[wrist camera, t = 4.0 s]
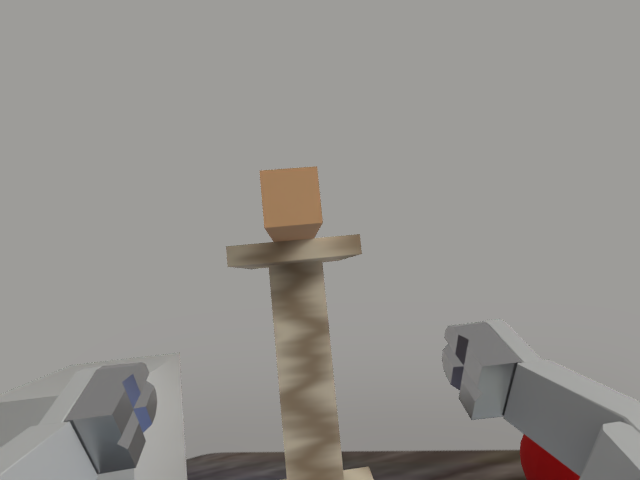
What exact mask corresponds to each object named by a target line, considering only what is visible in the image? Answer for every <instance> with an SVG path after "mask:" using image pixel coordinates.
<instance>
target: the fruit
mask: <svg viewBox="0 0 640 480" xmlns="http://www.w3.org/2000/svg"><path fill="white" fill-rule="evenodd" d="M520 457H521V464H522V468H523V471H524V473H525V476H526V479H527V480H579V478H580V476H579V475H577V474H576V473H575V472H573V471H572V470H571V469H569V468H568V467H567V466H566V465H564V464H563V463H562V462H560V461H559V460H558V459H556V458H555V457H554V456H552V455H551V454H550V453H548V452H547V451H546V450H545V449H543V448H542V447H541V446H539V445H538V444H537V443H535V442H534V441H533V440H531V439H530V438H529V437H527V436H526V435H525V434H524V435H523V438H522V440H521V446H520Z"/></svg>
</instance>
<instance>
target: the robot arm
mask: <svg viewBox="0 0 640 480" xmlns="http://www.w3.org/2000/svg"><path fill="white" fill-rule="evenodd" d="M445 339H446V341H447V342H448V345H447V346H446V347H445V348H444V349H443V354H442V362H443V368H444V372H445V374H446V377H447V378H448V380H449V382H450V384H451V385H452V386H454V387H456V388H457V389H459V390H460V393H459V400H460V401H461V403H462V405H463V406H464V408H465V410H466V411H467V413H468V415H469V417H470V418H471V420H476V419H485V418H494V417H503V416H504V419H505V420H506V421H508V422H509V423H510V424H512V425H513V426H514V427H516V428H517V429H518V430H520V431H521V432H522V433H524V434H525V435H526V436H527V437H529V438H530V439H531V440H533V441H534V442H535V443H537V444H538V445H539V446H541V447H542V448H543V449H545V450H546V451H547V452H548V453H550V454H551V455H552V456H554V457H555V458H556V459H558V460H559V461H560V462H562V463H563V464H564V465H566V466H567V467H568V468H569V469H571V470H572V471H573V472H575V473H576V474H577V475H579V476H580V478H579V480H640V401H638V400H635V399H633V398H631V397H629V396H627V395H625V394H622V393H620V392H618V391H616V390H614V389H612V388H609V387H607V386H605V385H603V384H600V383H599V382H596V381H594V380H592V379H590V378H588V377H585V376H583V375H581V374H579V373H577V372H575V371H573V370H570V369H568V368H566V367H564V366H562V365H560V364H558V363H555V362H553V361H551V360H548V359H546V360H542V359H541V358H540V357H539V356H538V354H537V353H536V352H534V350H533V349H532V348H531V347H530V346H529V345H528V344H527V343H526V342H525V341H524V340H523V339H522V338H521V337H520V336H519V335H518V334H517V333H516V332H515V331H514V330H513V329H512V328H511V327H510V326H509V325H508V324H507V323H506V322H505V321H504V320H501V319H495V320H488V321H482V322H475V323H467V324H459V325H452V326H448V327H447V329H446V331H445ZM148 376H149V370H148V368H147V365H146V364H145V363H142V362H138V363H128V364H117V365H107V366H102V367H90V368H82V369H80V370H78V371H77V372H75V374H74V375H73V376H72V378H71V379H70V381H69V382H68V383H67V385H66V386H65V388H64V389H63V390H62V392H61V393H60V395H59V396H58V397H57V399H56V400H55V402H54V403H53V404H52V406H51V407H50V409H49V410H48V411H47V413H46V414H45V416H44V417H43V419H42V420H41V421H40V423H39V424H38V425H37V426H30V427H29V428H28V429H26V430H25V431H23V432H22V433H21V434H19V435H18V436H16V437H15V438H13V439H12V440H11V441H9V442H8V443H6V444H5V445H4V446H2V447H1V448H0V480H96V478H97V477H98V474H103V473H109V472H114V471H120V470H126V469H132V468H136V466H137V464H138V461H139V458H140V456H141V453H142V450H143V448H144V445H145V442H146V440H145V437H144V434H143V433H144V432H145V431H146V430H147V429H148V428H149V427H150V426H151V425H152V423H153V421H154V418H155V415H156V409H157V394H156V390H155V387H154V385H152V384H151V383H149V382H148V381H146V380H147V378H148Z"/></svg>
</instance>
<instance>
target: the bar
mask: <svg viewBox="0 0 640 480" xmlns="http://www.w3.org/2000/svg"><path fill="white" fill-rule="evenodd" d="M260 180H261V193H262V204H263V216H264V228H265V229H266V231H267V232H268V234H269V235H270V237H271V238H272V240H273V241H274V242H280V241H291V240H302V239H313V238H314V237H315V236H316V234H317V232H318V230H319V228H320V227H321V225H322V223H323V221H322V211H321V202H320V192H319V181H318V173H317V167H304V168H290V169H277V170H264V171H260Z"/></svg>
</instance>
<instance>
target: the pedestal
mask: <svg viewBox="0 0 640 480" xmlns="http://www.w3.org/2000/svg"><path fill="white" fill-rule="evenodd" d="M138 362H142V363H145V364H146V365H147V368H148V370H149V376H148V378H147V380H146V381H148V382H149V383H151V384H152V385H154V387H155V390H156V394H157V409H156V415H155V418H154V421H153V423H152V425H151V426H150V427H149V428H148V429H147V430H146V431H145V432H144V433H143V434H144V437H145V440H146V442H145V445H144V448H143V450H142V453H141V456H140V458H139V461H138V464H137V466H136V468H132V469H126V470H120V471H114V472H109V473H103V474H98V477H97V478H96V480H187V469H186V453H185V436H184V419H183V402H182V386H181V369H180V353H172V354H163V355H155V356H146V357H137V358H129V359H121V360H112V361H103V362H94V363H86V364H77V365H70V366H68V367H66V368H63V369H61V370H58V371H56V372H53V373H51V374H49V375H46V376H44V377H41V378H39V379H37V380H34V381H32V382H29V383H27V384H24V385H22V386H19V387H17V388H15V389H12V390H10V391H7V392H5V393H3V394H0V448H1V447H2V446H4V445H5V444H6V443H8V442H9V441H11V440H12V439H13V438H15V437H16V436H18V435H19V434H21V433H22V432H23V431H25V430H26V429H28V428H29V427H30V426H37V425H38V424H39V423H40V421H41V420H42V419H43V417H44V416H45V414H46V413H47V411H48V410H49V409H50V407H51V406H52V404H53V403H54V402H55V400H56V399H57V397H58V396H59V395H60V393H61V392H62V390H63V389H64V388H65V386H66V385H67V383H68V382H69V381H70V379H71V378H72V376H73V375H74V374H75V372H77V371H78V370H80V369H82V368H90V367H102V366H107V365H117V364H128V363H138Z"/></svg>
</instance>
